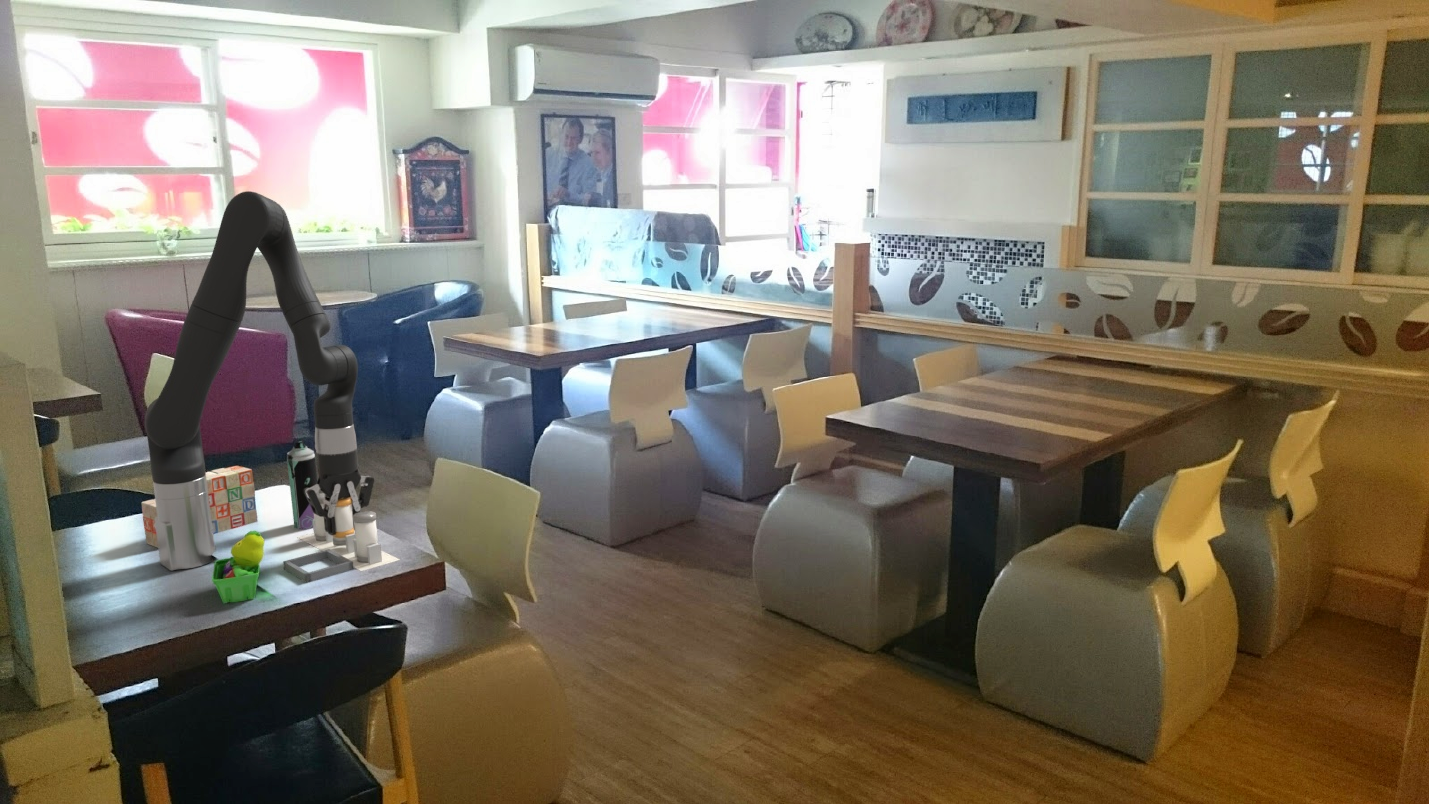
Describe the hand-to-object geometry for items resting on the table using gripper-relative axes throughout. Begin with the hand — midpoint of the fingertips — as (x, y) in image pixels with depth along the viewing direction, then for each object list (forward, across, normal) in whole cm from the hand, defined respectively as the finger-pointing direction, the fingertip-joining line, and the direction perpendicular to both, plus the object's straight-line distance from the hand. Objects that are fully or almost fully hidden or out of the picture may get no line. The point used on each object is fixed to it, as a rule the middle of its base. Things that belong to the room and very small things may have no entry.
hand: (343, 531), depth 203 cm
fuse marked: (+2, 0, 0) cm, 2 cm away
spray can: (+5, +1, +20) cm, 21 cm away
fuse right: (+4, +1, -9) cm, 9 cm away
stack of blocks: (+6, -15, +37) cm, 40 cm away
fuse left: (+4, 0, +9) cm, 10 cm away
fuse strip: (+5, 0, 0) cm, 5 cm away
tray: (+5, -8, -7) cm, 12 cm away
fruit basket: (+6, -21, -4) cm, 23 cm away
